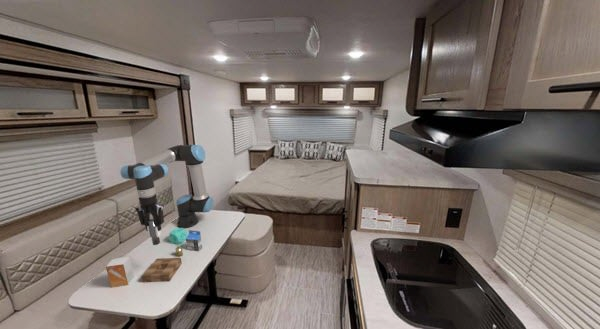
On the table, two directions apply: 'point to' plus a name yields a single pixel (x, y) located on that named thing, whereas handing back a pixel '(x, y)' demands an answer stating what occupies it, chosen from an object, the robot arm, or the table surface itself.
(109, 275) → the small box
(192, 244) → the label tape cartridge
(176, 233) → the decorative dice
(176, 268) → the hole block
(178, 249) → the short pin
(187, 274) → the table surface
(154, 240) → the long pin
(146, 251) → the table surface
